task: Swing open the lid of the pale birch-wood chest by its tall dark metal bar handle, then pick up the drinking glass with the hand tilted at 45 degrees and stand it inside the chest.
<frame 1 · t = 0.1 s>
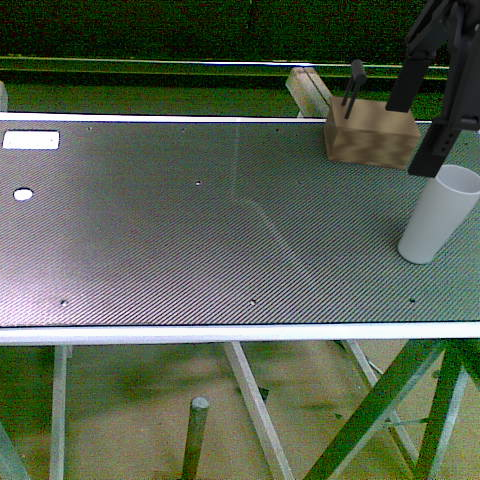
hand: (407, 140, 55), 24 cm above the table, tool pointing down, fingers open, 13 cm apart
drinking glass: (413, 254, 76), on the table
chest: (362, 148, 96), on the table
chest lid: (381, 94, 88), point 12 cm above the table, hinge at 0.0°
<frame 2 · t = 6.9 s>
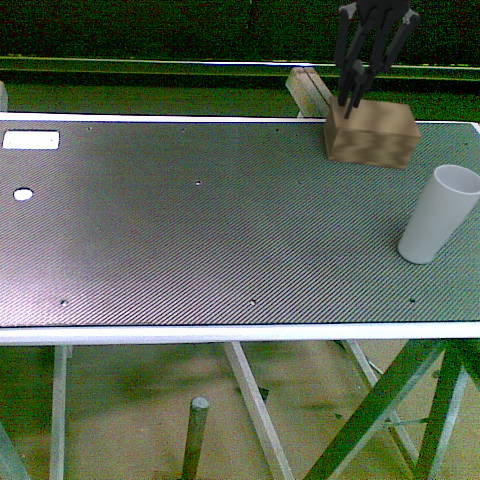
hand: (347, 103, 90), 9 cm above the table, tool pointing down, fingers closed on chest lid, 2 cm apart
chest lid: (381, 94, 88), point 12 cm above the table, hinge at 0.0°, touching gripper
everything else where it was.
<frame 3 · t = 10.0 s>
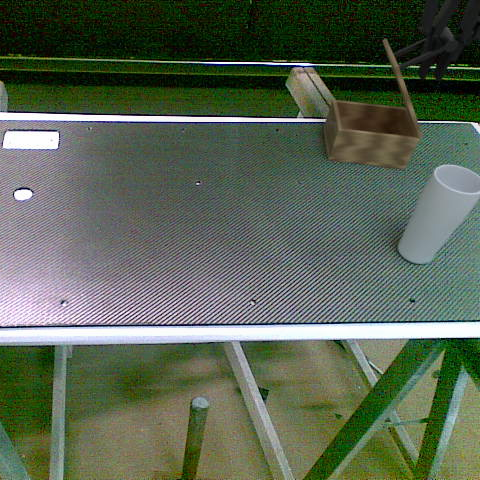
hand: (428, 76, 84), 16 cm above the table, tool pointing down, fingers closed on chest lid, 2 cm apart
chest lid: (429, 76, 84), point 16 cm above the table, hinge at 53.7°, touching gripper
everything else where it was.
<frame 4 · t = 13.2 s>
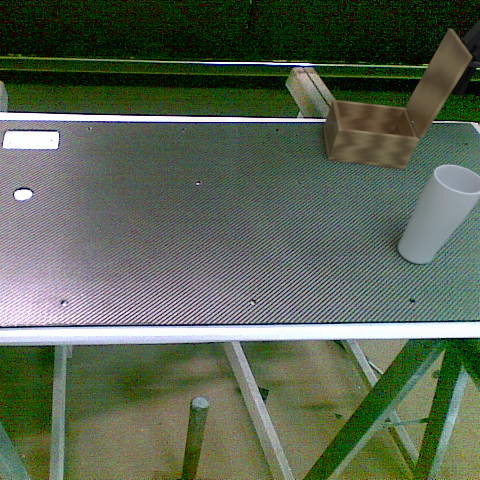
chest lid: (460, 88, 85), point 14 cm above the table, hinge at 94.9°, touching gripper
everything else where it was.
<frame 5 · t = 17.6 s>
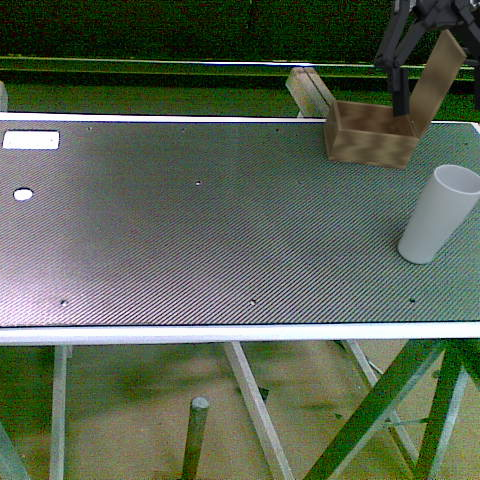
hand: (443, 112, 70), 19 cm above the table, tool tilted 40°, fingers open, 13 cm apart
chest lid: (458, 87, 85), point 15 cm above the table, hinge at 91.5°
everything else where it was.
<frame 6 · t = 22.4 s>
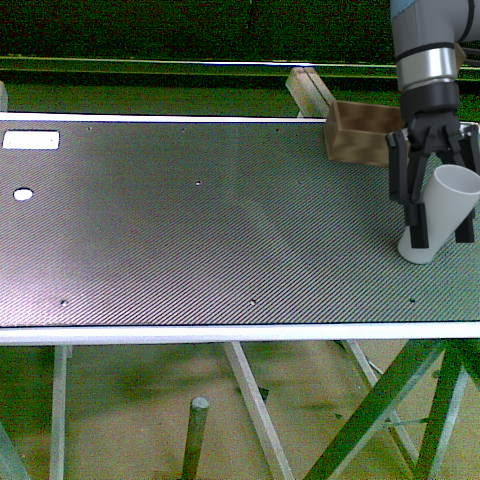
hand: (442, 245, 69), 5 cm above the table, tool tilted 45°, fingers closed on drinking glass, 7 cm apart
drinking glass: (413, 254, 76), on the table, touching gripper
everything else where it was.
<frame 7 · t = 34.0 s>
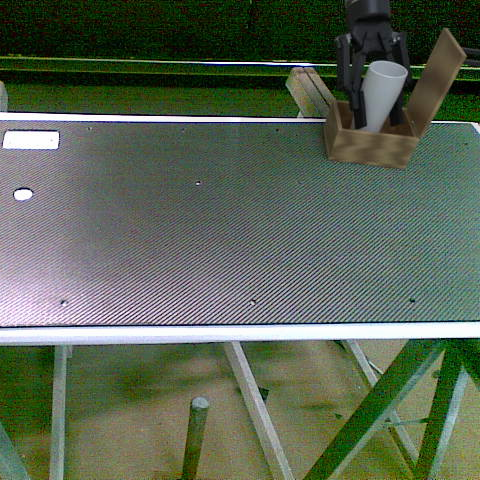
hand: (379, 126, 89), 7 cm above the table, tool tilted 45°, fingers closed on drinking glass, 7 cm apart
drinking glass: (359, 141, 95), point 1 cm above the table, touching gripper
everything else where it was.
when the fingers open (8 cm above the table, at t = 38.1 s): drinking glass drops 1 cm, resting on chest.
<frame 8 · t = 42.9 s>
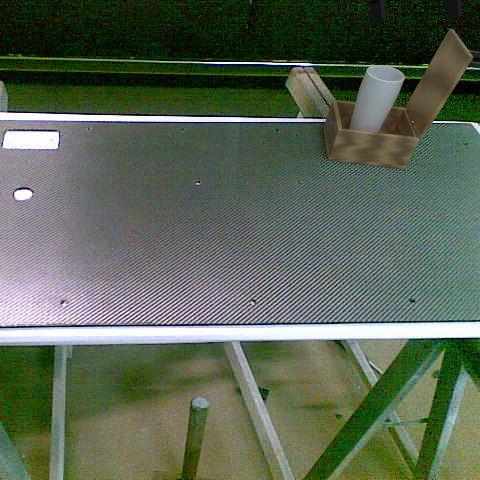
hand: (417, 21, 76), 26 cm above the table, tool tilted 45°, fingers open, 13 cm apart
drinking glass: (357, 145, 96), point 1 cm above the table, touching chest
chest lid: (460, 89, 85), point 14 cm above the table, hinge at 95.5°
at the end: chest lid at +96° (first picture: +0°); drinking glass inside the target area in the chest (1.1 cm from its centre), point 0.6 cm above the chest's base; drinking glass tilted 0° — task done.
